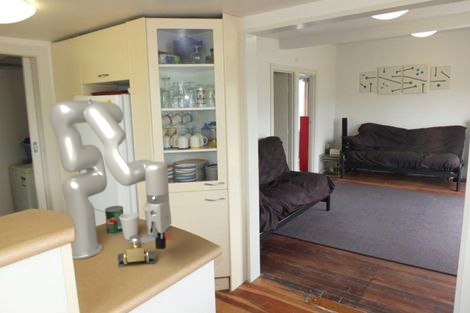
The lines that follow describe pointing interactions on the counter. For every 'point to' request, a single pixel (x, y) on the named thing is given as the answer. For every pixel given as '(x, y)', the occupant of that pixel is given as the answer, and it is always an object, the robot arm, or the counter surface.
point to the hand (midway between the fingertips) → (160, 248)
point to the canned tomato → (114, 219)
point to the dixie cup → (129, 224)
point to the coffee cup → (146, 216)
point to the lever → (146, 238)
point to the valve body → (136, 255)
